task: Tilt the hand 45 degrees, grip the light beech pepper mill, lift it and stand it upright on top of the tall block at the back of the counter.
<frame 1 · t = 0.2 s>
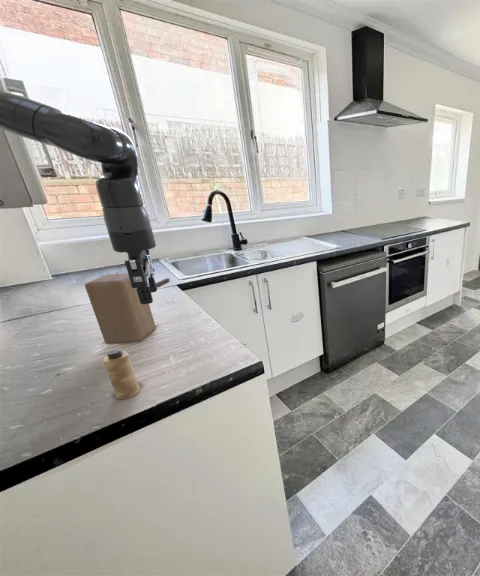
hand: (149, 297, 72), 21 cm above the countertop, tool pointing down, fingers open, 8 cm apart
pepper mill: (128, 393, 72), on the countertop
block: (132, 337, 99), on the countertop
kitchen knife: (148, 291, 140), on the countertop
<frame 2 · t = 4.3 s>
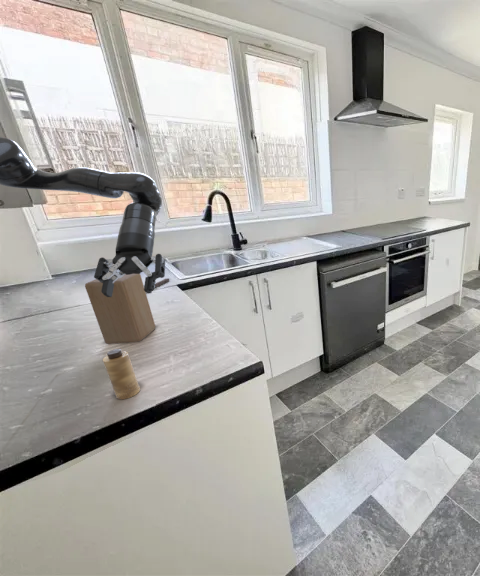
hand: (127, 294, 76), 21 cm above the countertop, tool tilted 45°, fingers open, 8 cm apart
nothing on the countertop moved.
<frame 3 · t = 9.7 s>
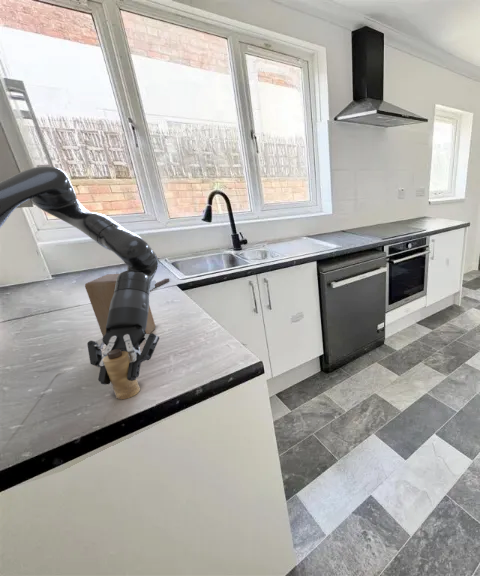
hand: (118, 381, 69), 5 cm above the countertop, tool tilted 45°, fingers closed on pepper mill, 4 cm apart
pepper mill: (128, 393, 72), on the countertop, touching gripper
everything else where it was.
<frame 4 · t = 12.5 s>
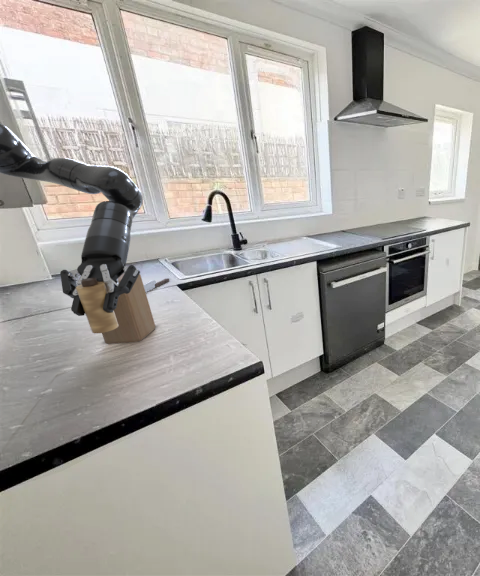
hand: (93, 312, 63), 22 cm above the countertop, tool tilted 45°, fingers closed on pepper mill, 4 cm apart
pepper mill: (105, 328, 67), point 17 cm above the countertop, touching gripper
everything else where it was.
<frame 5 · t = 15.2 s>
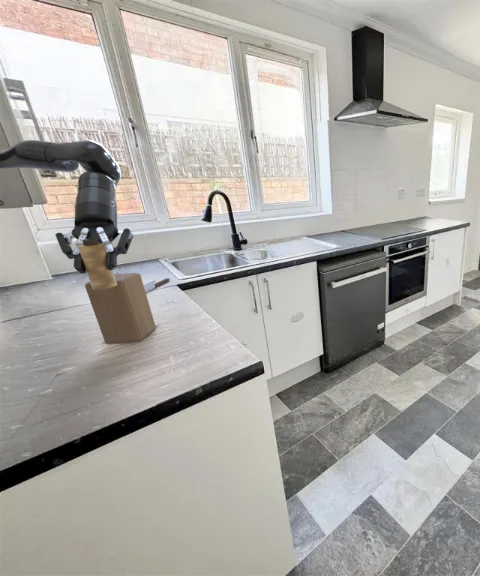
hand: (95, 269, 69), 28 cm above the countertop, tool tilted 45°, fingers closed on pepper mill, 4 cm apart
pepper mill: (104, 286, 72), point 24 cm above the countertop, touching gripper
everything else where it was.
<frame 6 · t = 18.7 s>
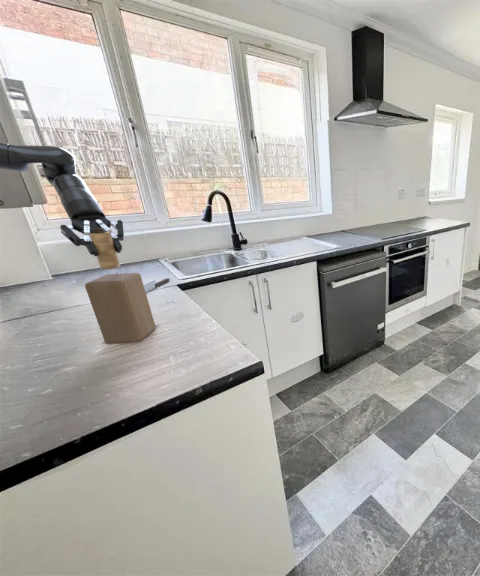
hand: (107, 252, 87), 28 cm above the countertop, tool tilted 45°, fingers closed on pepper mill, 4 cm apart
pepper mill: (110, 267, 89), point 24 cm above the countertop, touching gripper
everything else where it was.
when the fingers open (25 cm above the countertop, at t = 21.1 s): pepper mill stays where it is, resting on block.
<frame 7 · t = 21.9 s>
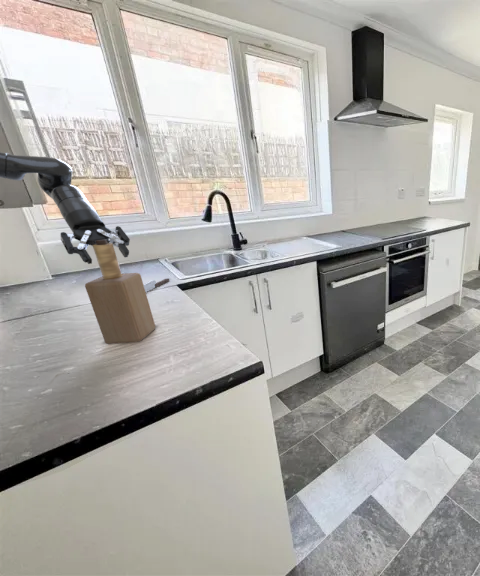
hand: (109, 258, 90), 26 cm above the countertop, tool tilted 45°, fingers open, 8 cm apart
pepper mill: (113, 277, 92), point 20 cm above the countertop, touching block
block: (132, 337, 99), on the countertop, touching pepper mill
everything else where it was.
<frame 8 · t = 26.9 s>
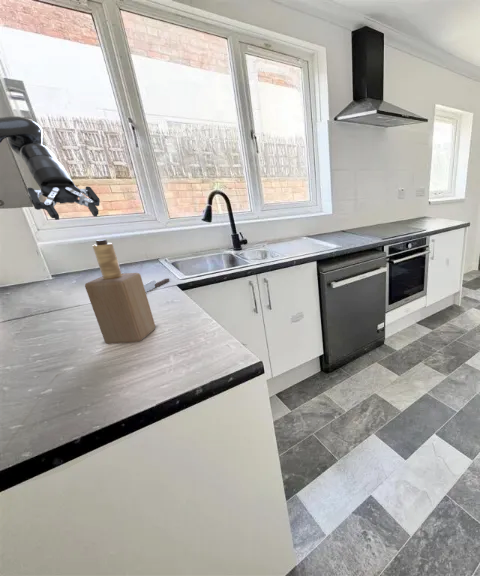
hand: (77, 216, 90), 38 cm above the countertop, tool tilted 45°, fingers open, 8 cm apart
nothing on the countertop moved.
at the end: pepper mill inside the target area on the block (0.2 cm from its centre), point 20.2 cm above the block's base; pepper mill tilted 0°; the gripper is holding nothing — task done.
